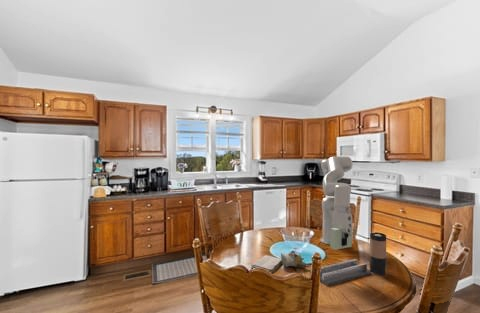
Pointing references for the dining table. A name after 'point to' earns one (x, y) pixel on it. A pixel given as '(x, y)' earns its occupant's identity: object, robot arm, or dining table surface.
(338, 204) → the robot arm
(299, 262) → the ceramic sculpture
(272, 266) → the washcloth
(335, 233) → the door panel
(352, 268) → the rail
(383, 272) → the travel mug
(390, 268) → the dining table surface
